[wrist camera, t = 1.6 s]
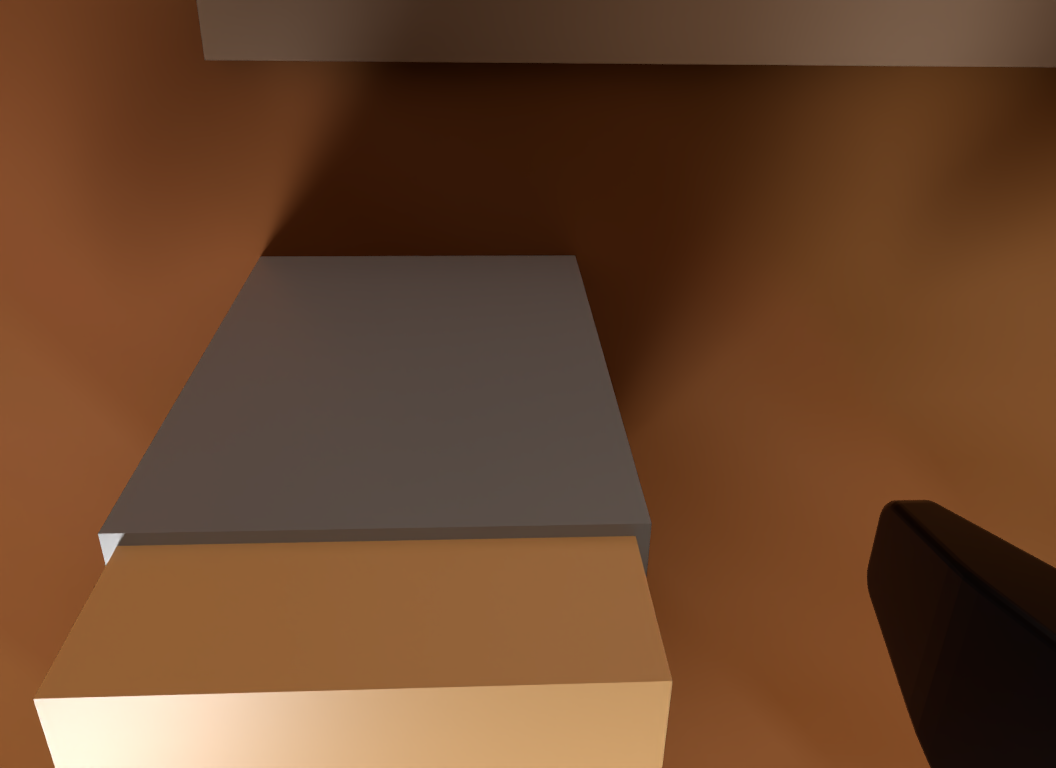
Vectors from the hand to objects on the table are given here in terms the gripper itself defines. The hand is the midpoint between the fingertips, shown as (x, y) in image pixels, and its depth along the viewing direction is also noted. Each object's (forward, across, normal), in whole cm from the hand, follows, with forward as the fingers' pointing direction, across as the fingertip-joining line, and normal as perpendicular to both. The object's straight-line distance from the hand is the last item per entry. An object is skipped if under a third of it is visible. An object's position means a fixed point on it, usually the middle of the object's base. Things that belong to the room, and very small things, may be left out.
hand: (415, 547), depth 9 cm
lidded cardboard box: (+3, 0, 0) cm, 3 cm away
